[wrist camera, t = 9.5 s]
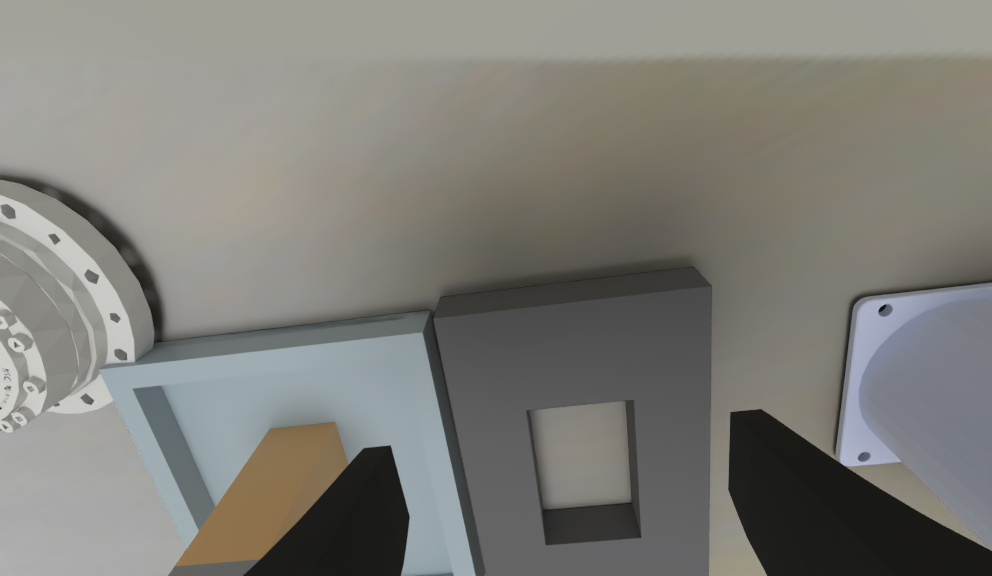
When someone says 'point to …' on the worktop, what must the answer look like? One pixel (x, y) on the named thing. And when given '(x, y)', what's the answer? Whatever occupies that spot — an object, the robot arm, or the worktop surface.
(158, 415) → the parts tray
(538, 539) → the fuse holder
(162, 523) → the worktop surface
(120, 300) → the mechanical component
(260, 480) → the orange two-tone block
